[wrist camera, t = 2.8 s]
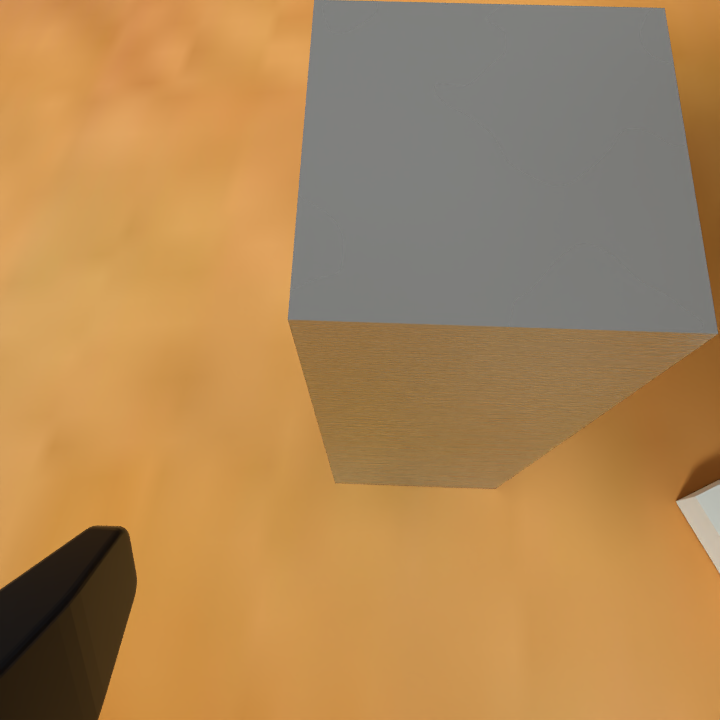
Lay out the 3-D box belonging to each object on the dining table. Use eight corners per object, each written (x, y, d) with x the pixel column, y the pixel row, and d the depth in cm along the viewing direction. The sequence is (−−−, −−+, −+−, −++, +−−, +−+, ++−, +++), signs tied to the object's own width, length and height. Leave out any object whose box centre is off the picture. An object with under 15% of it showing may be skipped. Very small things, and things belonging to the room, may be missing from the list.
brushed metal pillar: (495, 489, 19) (718, 334, 7) (335, 482, 20) (287, 319, 7) (490, 339, 21) (664, 8, 9) (342, 335, 21) (314, -1, 9)
